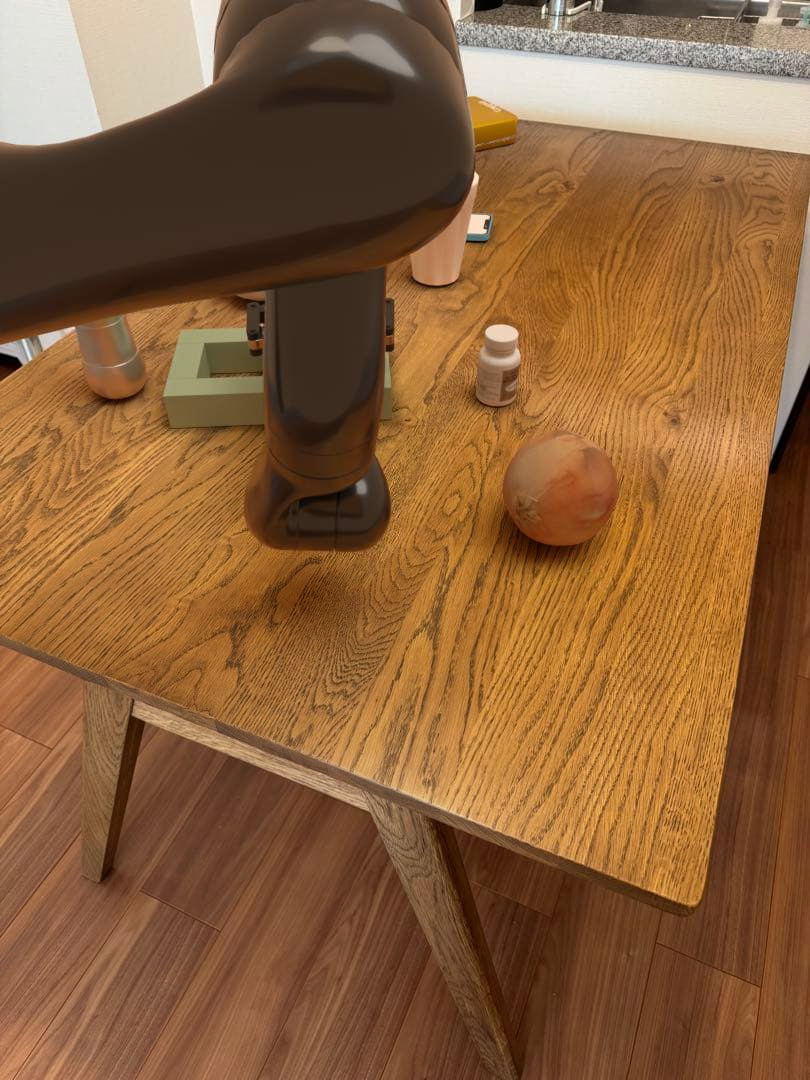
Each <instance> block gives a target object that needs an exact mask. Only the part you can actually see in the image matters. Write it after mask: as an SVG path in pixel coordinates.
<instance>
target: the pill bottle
mask: <svg viewBox="0 0 810 1080" xmlns="http://www.w3.org/2000/svg"><path fill="white" fill-rule="evenodd" d="M518 344H519V331H518V330H517V329H516V328H515V327H514V326H511V325H508V324H501V323H500V324H493V325H490V326H488V327H486V329H485V331H484V339H483V346H482V347H481V349H480V350H479V351H478V358H477V359H478V360H477V372H476V373H477V374H476V385H475V396H476V398H477V400H478V401H479V402H481V403H482V404H484V405H487V406H491V407H505V406H508V405H510V404H512V403H513V402H515V399H516V397H517V390H518V383H519V375H520V368H521V358H522V357H521V355H522V354H521V352H520V350H519V349H518Z"/></svg>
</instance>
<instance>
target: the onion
mask: <svg viewBox="0 0 810 1080" xmlns="http://www.w3.org/2000/svg"><path fill="white" fill-rule="evenodd" d="M618 482H619V481H618V477H617V473H616V469H615V467H614V464H613V462H612V460H611V459H610V456H609V455H608V453H607V452H606V450H604V448H603V447H601V446H600V445H599V444H597V442H595V441H593V440H592V439H591V438H589V437H587V436H585V435H583V434H580V433H578V432H575V431H573V430H571V429H565V428H555V429H552V430H549V431H545V432H544V433H541V434H539V435H537V436H534V437H532V438H530V439H529V440H527V441H526V442H524V444H522V445H521V446H520V447H519V449H518V450H517V451H516V452H515V453H514V454H513V456H512V457H511V459H510V461H509V462H508V465H507V467H506V469H505V473H504V475H503V480H502V499H503V502H504V505H505V507H506V510H507V511H508V513H509V515H510V517H511V519H512V521H513V522H514V524H515V526H517V527H518V529H519V530H520V531H521V532H522V533H523V534H524V535H526V536H527V537H529V538H530V539H531V540H533V541H535V542H538V543H541V544H544V545H549V546H553V547H560V546H565V547H567V546H568V547H569V546H573V545H578V544H582V543H584V542H587V541H589V540H590V539H592V538H593V537H594V536H596V535H597V534H599V532H600V531H601V530H602V529H603V527H604V526H605V525H606V524H607V522H609V519H610V518H611V516H612V514H613V512H614V510H615V507H616V504H617V501H618V498H619V483H618Z"/></svg>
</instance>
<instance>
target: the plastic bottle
mask: <svg viewBox="0 0 810 1080" xmlns="http://www.w3.org/2000/svg"><path fill="white" fill-rule="evenodd" d="M74 329H75V334H76V338H77V342H78V346H79V350H80V355H81V356H80V359H81V360H80V361H81V368H82V373H83V377H84V379H85V381H86V382H87V384H88V387H89V388H90V389H91V391H93V392H94V393H95V394H97V395H98V396H100V397H102V398H104V399H109V400H120V399H125V398H128V397H129V398H130V397H132V396H134V395H136V394H138V393H139V392H140V391H141V390H142V389H143V387H144V385H145V384H146V381H147V378H148V377H147V376H148V375H147V363H146V361H145V359H144V356H143V354H142V351H141V349H140V348H139V346H138V345H137V343H136V340H135V337H134V334H133V332H132V329H131V327H130V324H129V321H128V318H127V314H125V315H121V316H117V317H112V318H108V319H104V320H100V321H96V322H92V323H88V324H83V325H79V326H75V327H74Z"/></svg>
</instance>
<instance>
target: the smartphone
mask: <svg viewBox="0 0 810 1080" xmlns="http://www.w3.org/2000/svg"><path fill="white" fill-rule="evenodd" d="M493 217H494V216H493V215H492V214H490V213H476V212H472V213H471V218H470V223H469V228H468V232H467V237H466V241H476V242H477V241H479V242H485V241H488V240H489V239H490V235H491V230H492V225H493Z"/></svg>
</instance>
